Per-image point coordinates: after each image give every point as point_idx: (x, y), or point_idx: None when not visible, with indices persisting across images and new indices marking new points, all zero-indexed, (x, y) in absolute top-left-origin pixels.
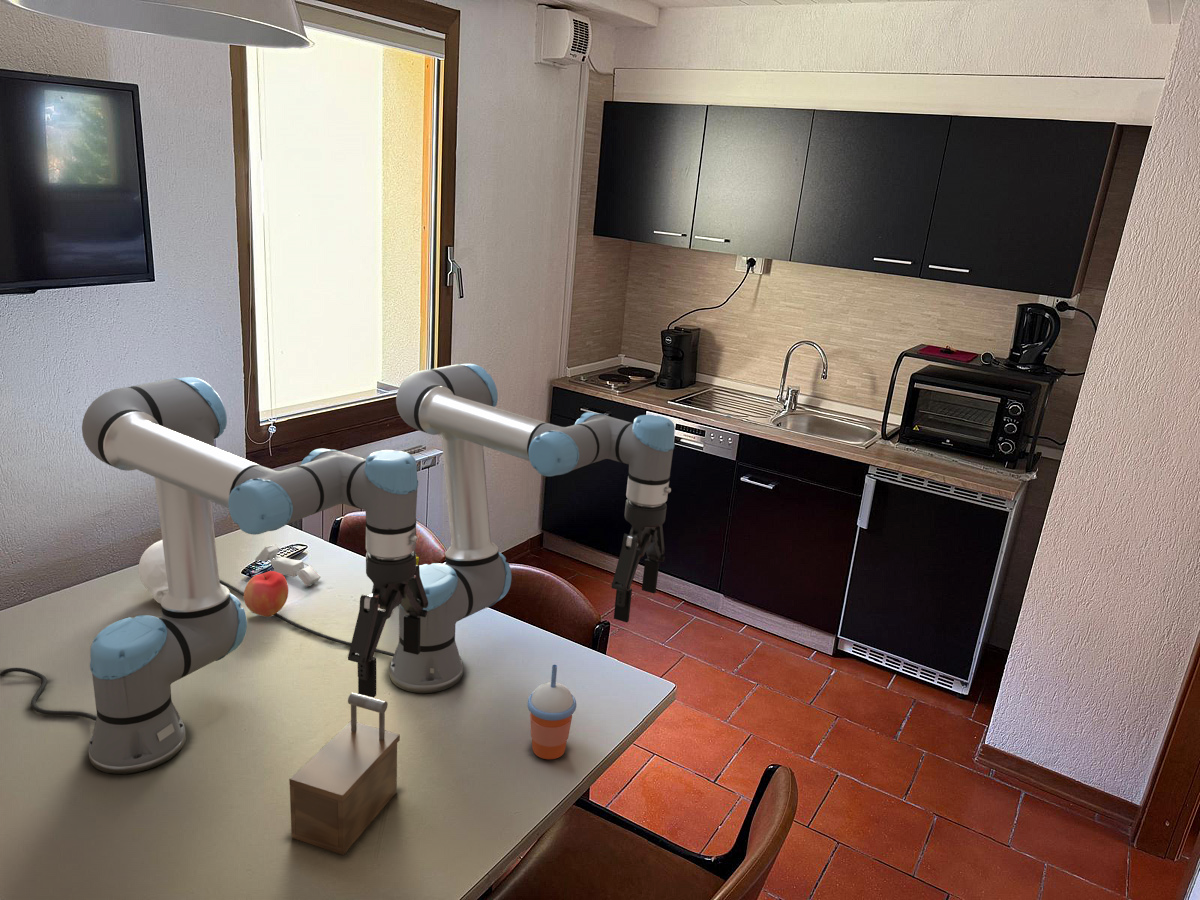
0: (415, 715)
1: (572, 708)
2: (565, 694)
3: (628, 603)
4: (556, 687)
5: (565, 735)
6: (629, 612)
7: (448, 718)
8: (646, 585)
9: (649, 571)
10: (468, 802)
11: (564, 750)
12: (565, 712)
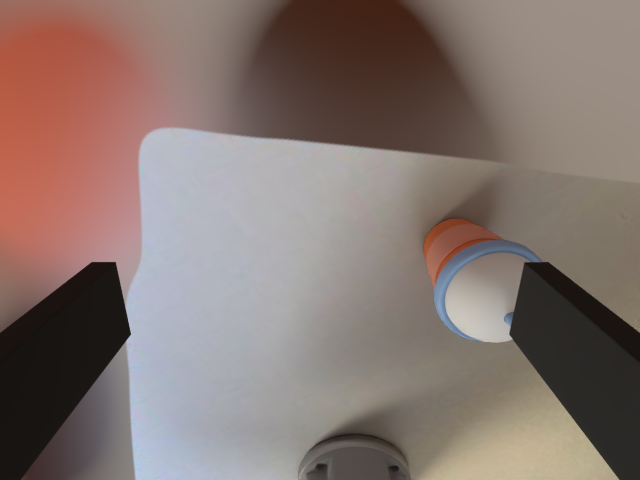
0: (454, 436)
1: (505, 246)
2: (513, 280)
3: (638, 339)
4: (513, 309)
5: (483, 229)
6: (559, 289)
7: (440, 401)
8: (106, 334)
9: (34, 405)
10: (619, 287)
11: (454, 219)
12: (528, 253)
